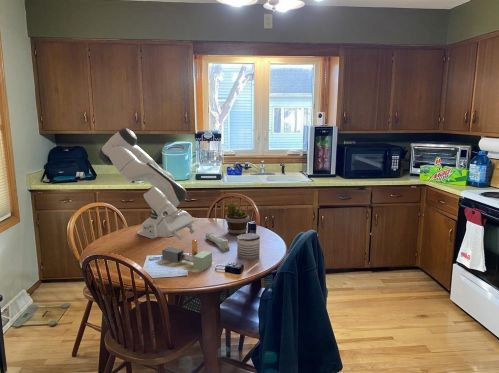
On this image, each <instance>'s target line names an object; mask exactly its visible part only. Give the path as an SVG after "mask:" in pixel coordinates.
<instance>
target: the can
mask: <svg viewBox="0 0 499 373" xmlns="http://www.w3.org/2000/svg"><path fill="white" fill-rule="evenodd" d="M236 238H237V242H236V244H237V246H236V247H237V249H236V256H237V258H238V259H240V260H244V261H255V260H256V261H258V260H259V259H260V248H261V247H260V245H261V243H260V242H261V235H260V234H259V233H250V232H249V233H245V234H241V235H236Z"/></svg>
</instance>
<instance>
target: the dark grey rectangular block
mask: <svg viewBox="0 0 499 373" xmlns="http://www.w3.org/2000/svg"><path fill="white" fill-rule="evenodd" d="M161 253H162V254H161V256H162V259H163V260H167V261H171V262H175V263H178V262H180V261H182V260H180V259H178V254H179V253H182V254H185V252H184V249H182V248H176V247H173V246H167V247H164V248H162V250H161Z"/></svg>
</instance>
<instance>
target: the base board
mask: <svg viewBox="0 0 499 373" xmlns="http://www.w3.org/2000/svg"><path fill="white" fill-rule="evenodd" d="M155 263H156V264H160V265H164V266H168V267H172V268H177V269H181V270H184V271H188V272H193V273H197V274H199V273H201V272H202V270H198V269H194V268H193V262H189V261H184V260H182V261H180V262H178V263H175V262H171V261H167V260H163V259H159V260H158V261H156V262H155ZM214 264H216V261H212V265H214ZM207 268H209V267H207ZM207 268H206V269H207Z"/></svg>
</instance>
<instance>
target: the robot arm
mask: <svg viewBox="0 0 499 373" xmlns="http://www.w3.org/2000/svg"><path fill="white" fill-rule="evenodd" d="M137 143H138V137H137V135H136V134H135V132H133V131H132V130H131V129H129V128H127V127H123V128H120V129H119V130H118V131H117V132H115V133H114V135H112V136H111V137H110V138H109V139H108V141H106V142H105V144H104V145H103V146H102V147H100V148H99V150H98V151H97V155H98V156H97V157H98V158H99V159H100V161H101V162H102V163H103V164H105V165H106V166H113V167H115V169H116V170H117V171H118V172H119V173H120V175H122V176H123V178H125V179H126V180H128V181H130V182H135V181H140V180H146V181H147V182H148V183H149V184H150V185H151V187H149V188H148V189H147V190H145V192H144V193H143V198H144V200H145V201H146V203H147V205H149V207H150V210H151V211H150V212H148V215H149V217H148V218H147V219H146V220H145V221H143V222H142V224H141V229H140V230H138V231H137V232H136V233H137V235H140V236H143V237H145V238H149V239H152V240H154V239H156V238H159V237H160V238H161V237H162V238H170V237H172V236H173V237H175V238H176V239H177V240H179V241H182V240H183V239H184V236H183V235H182V234H179V233H178V232H179V231H182V230H183V229H185V228H187V229H189V233H190V234H191V235H192V234H194V233H195V232H196V230H195V229H194V227H193V223H194V222H195V218H194V217H193V216H192V215H191V214H190V213H189V212H187V211H186V210H183V209H179V210H178V208H177V207H178V206H179V205H180V204H181V203H183V202H185V200H186V199H187V195H188V194H187V193H188V192H187V190H186V189H185V187H184V186H182V184H180V183H178V182H176V181H175V177H174V176H173V174H172V173H171V172H169V171H167V170H165V169H163V168H162V166H160V165H159V164H158V163H156V161H155V160H154V159H153V158H152V157H151V156H150V155H149V154H148V153H147V152H146V151H144V150H143V149H142V148H141V147H140V146H138V145H137Z"/></svg>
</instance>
